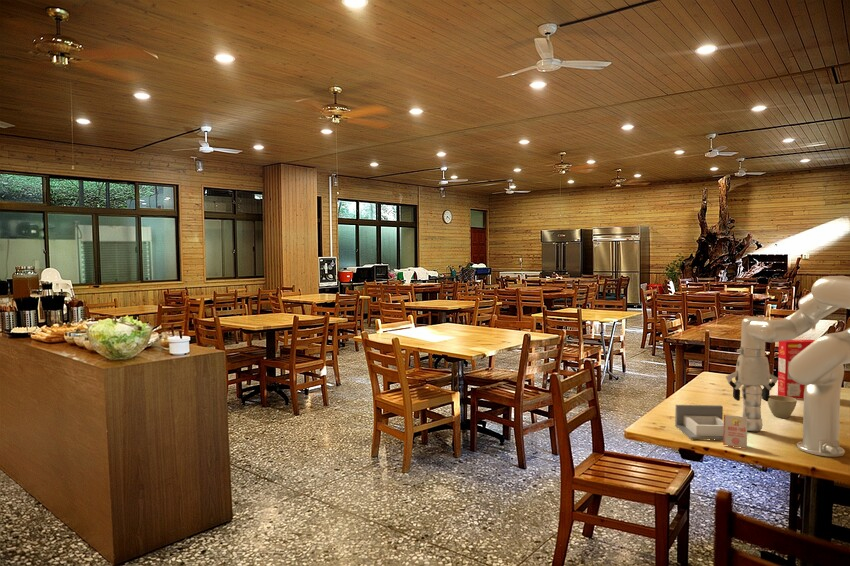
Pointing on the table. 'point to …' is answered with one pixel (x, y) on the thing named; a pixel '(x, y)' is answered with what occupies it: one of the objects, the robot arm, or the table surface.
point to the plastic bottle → (752, 406)
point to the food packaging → (785, 356)
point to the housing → (700, 421)
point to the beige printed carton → (735, 431)
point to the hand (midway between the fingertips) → (750, 400)
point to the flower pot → (781, 405)
